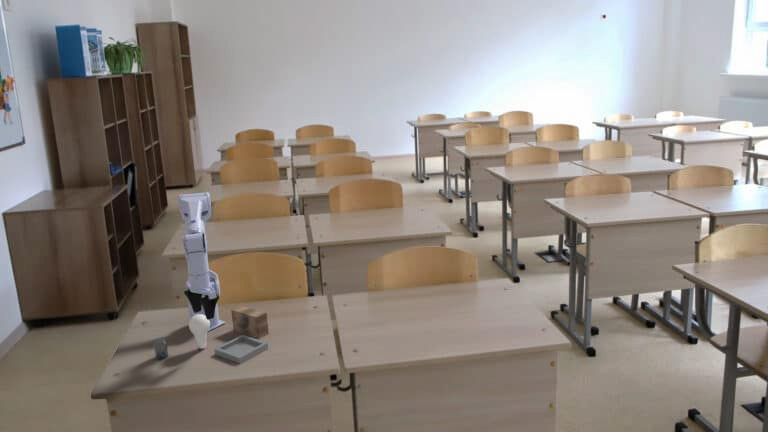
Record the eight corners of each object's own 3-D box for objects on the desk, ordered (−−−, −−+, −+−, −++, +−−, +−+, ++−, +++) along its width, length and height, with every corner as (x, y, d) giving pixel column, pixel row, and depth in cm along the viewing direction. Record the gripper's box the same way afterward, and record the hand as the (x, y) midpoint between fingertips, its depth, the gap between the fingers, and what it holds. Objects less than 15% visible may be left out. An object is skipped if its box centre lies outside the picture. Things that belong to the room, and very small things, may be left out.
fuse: (153, 358, 187) (151, 342, 186) (163, 353, 190) (161, 337, 189) (160, 361, 185) (158, 345, 184) (171, 356, 188) (169, 340, 187)
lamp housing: (232, 330, 203) (229, 310, 201) (243, 324, 207) (241, 305, 205) (257, 339, 196) (255, 318, 195) (269, 333, 200) (267, 312, 198)
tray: (215, 354, 188) (214, 348, 187) (243, 340, 196) (242, 334, 196) (240, 363, 181) (239, 358, 181) (268, 348, 190) (267, 343, 189)
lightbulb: (207, 353, 188) (202, 319, 185) (188, 352, 189) (183, 318, 187) (216, 344, 194) (212, 311, 191) (198, 343, 195) (193, 310, 192)
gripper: (223, 274, 184) (228, 317, 188) (198, 264, 194) (203, 305, 198) (201, 281, 180) (206, 325, 183) (177, 270, 190) (183, 311, 193)
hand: (203, 315), depth 190 cm, fingers open, 7 cm apart
